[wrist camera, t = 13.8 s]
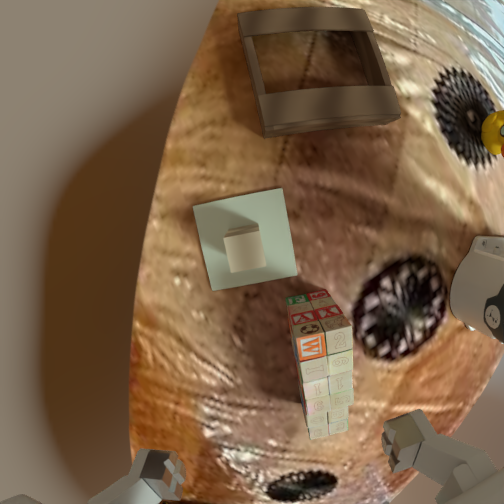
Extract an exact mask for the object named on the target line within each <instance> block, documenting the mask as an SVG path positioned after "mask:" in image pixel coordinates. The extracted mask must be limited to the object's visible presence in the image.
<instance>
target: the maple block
mask: <svg viewBox="0 0 504 504" xmlns="http://www.w3.org/2000/svg"><path fill="white" fill-rule="evenodd" d="M223 239H224V244H225V248H226V253H227V257H228V262H229V266H230V271H231V273H234V272H239V271H244V270H249V269H255V268H260V267H265V266H266V260H265V255H264V250H263V245H262V240H261V235H260V230H259V225H258V223H257V224H252V225H247V226H242V227H237V228H232V229H228V231H227V233H226V234H225V236H224V238H223Z"/></svg>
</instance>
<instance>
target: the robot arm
mask: <svg viewBox="0 0 504 504" xmlns="http://www.w3.org/2000/svg"><path fill="white" fill-rule="evenodd" d="M450 305H451V310H452V312H453V314H454V316H455V317H456V318H457V319H458V320H460V321H463V322H464V323H465V325H466V327H467V328H468V329H469V330H471V331H474V330H475V329H476V330H478V331H479V332H481V333H483V334H485V335H487V336H489V337H490V338H493V339H495V338H496V339H498V340H499V342H501V343H502V344H504V237H494V236H476V237H475V239H474V240H473V243H472V245H471V248H470V251H469V253H468V254H467V255H466V257H465V258H464V259H463V261H462V262H461V264H460V265H459V267H458V269H457V271H456V274H455V276H454V279H453V282H452V286H451V292H450ZM383 428H384V430H385V431H384V432H383V433H382V438H381V440H382V447H383V450H384V453H385V454H386V455H388V456H389V460H388V463H389V465H390V467H391V470H392V472H393V473H396V472H399V471H402V470H405V469H407V468H410V467H413V468H414V469H416V470H417V471H419V472H421V473H423V474H424V475H426V476H427V477H429V478H431V479H432V480H434V481H436V482H437V483H439V484H441V485H443V487H442V488H441V490H440V491H439V493H438V495H437V496H436V498H435V499H436V502H437V504H504V467H502V468H501V469H500V470H497V469H496V467H495V465H494V464H493V462H492V461H491V459H490V458H489V456H488V455H487V453H486V452H485V450H482V449H480V448H477V447H474V446H471V445H468V444H466V443H463V442H461V441H458V440H455V439H453V438H450V437H448V436H445V435H443V434H438V435H437V433H436V432H435V430H434V428H433V427H432V425H431V424H430V422H429V421H428V419H427V417H426V416H425V414H424V413H423V411H422V410H421V409H417V410H415V411H412V412H410V413H406V414H404V415H401V416H398V417H396V418H393V419H390V420H387V421H385V422H384V425H383ZM185 478H186V468H185V465H184V464H183V462H182V461H180V460H178V455H177V453H176V452H175V451H163V450H152V449H140V450H139V451H138V453H137V455H136V457H135V460H134V462H133V465H132V468H131V470H130V473H129V474H128V476H124V477H122V478H121V479H119V480H118V481H117V482H115V483H114V484H113V485H111V486H109V487H108V488H107V489H105V490H103V491H102V492H100V493H99V494H97V495H96V496H94V497H92V498H91V499H89V501H88V503H87V504H158V503H159V502H160V501H161V500H162V499H167V500H179V501H180V500H181V496H182V491H183V488H182V486H181V484H182V483H183V482H184V481H185ZM0 504H42V503H40V502H38V501H36V500H35V499H33V498H31V497H29V496H27V495H24V494H20V495H16V496H14V497H11V498H8V499H6V500H3V501H1V502H0Z"/></svg>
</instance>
